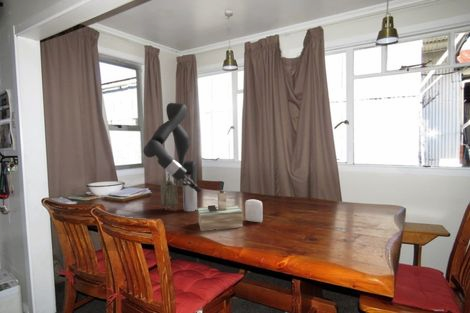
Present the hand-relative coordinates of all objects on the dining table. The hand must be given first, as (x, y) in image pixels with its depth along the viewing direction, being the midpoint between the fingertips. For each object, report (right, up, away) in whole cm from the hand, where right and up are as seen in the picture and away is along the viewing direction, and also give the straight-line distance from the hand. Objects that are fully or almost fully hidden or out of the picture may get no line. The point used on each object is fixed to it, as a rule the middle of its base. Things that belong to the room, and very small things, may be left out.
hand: (199, 191), depth 153 cm
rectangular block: (+11, -19, +3) cm, 22 cm away
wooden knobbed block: (+12, -10, +3) cm, 16 cm away
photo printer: (+30, -18, +9) cm, 36 cm away
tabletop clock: (-26, -18, +40) cm, 51 cm away
